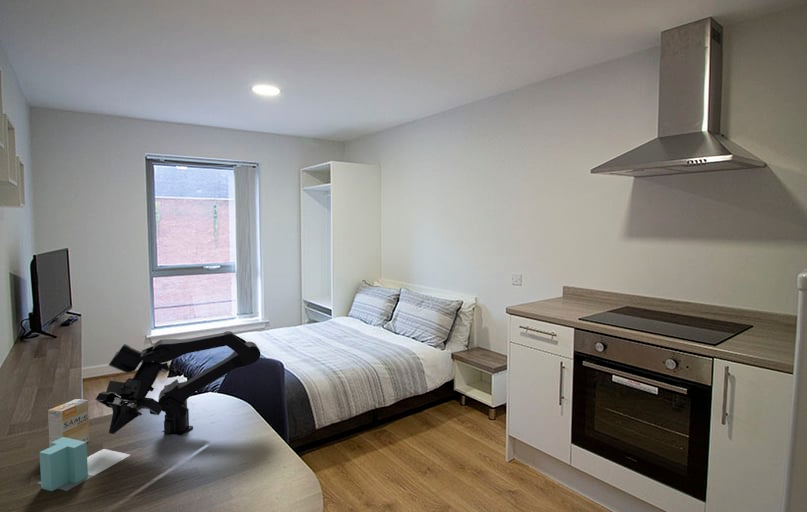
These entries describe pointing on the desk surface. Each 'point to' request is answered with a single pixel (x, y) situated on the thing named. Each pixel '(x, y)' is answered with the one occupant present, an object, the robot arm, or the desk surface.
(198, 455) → the desk surface
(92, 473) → the board
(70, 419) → the supplement box
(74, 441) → the t block
